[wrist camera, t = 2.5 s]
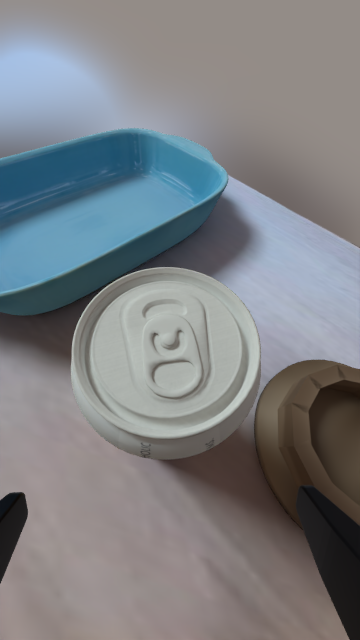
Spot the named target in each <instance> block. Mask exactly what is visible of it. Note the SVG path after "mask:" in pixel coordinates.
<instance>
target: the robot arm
mask: <svg viewBox="0 0 360 640" xmlns="http://www.w3.org/2000/svg"><path fill="white" fill-rule="evenodd" d="M296 510H297V513H298V516H299V519H300V521H301V524H302V527H303V530H304V532H305V535H306V538H307V540H308V543H309V546H310V549H311V551H312V554H313V557H314V560H315V562H316V565H317V567H318V570H319V573H320V575H321V577H322V580H323V582H324V584H325V586H326V589H327V591H328V593H329V595H330V597H331V600H332V602H333V604H334V606H335V609H336V611H337V613H338V615H339V617H340V620H341V622H342V624H343V626H344V628H345V631H346V633H347V635H348V637H349V639H350V640H360V525H359V524H357V523H356V522H355V521H354V520H353V519H352V518H350V517H349V516H348V515H347V514H346V513H345V512H343V511H342V510H341V509H340V508H339V507H337V506H336V505H335V504H334V503H333V502H332V501H330V500H329V499H328V498H327V497H326V496H325V495H323V494H322V493H321V492H320V491H319V490H318V489H316V488H315V487H314V486H312V485H300V486H299V489H298V494H297V499H296ZM27 515H28V509H27V503H26V498H25V494H24V493H23V492H13V493H9V494H8V495H6V496H5V497H4V498H3V499H1V500H0V583H1V581H2V578H3V576H4V574H5V571H6V569H7V566H8V564H9V561H10V559H11V557H12V554H13V552H14V549H15V547H16V544H17V542H18V539H19V537H20V534H21V532H22V530H23V527H24V525H25V522H26V519H27Z"/></svg>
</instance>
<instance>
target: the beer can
mask: <svg viewBox="0 0 360 640" xmlns="http://www.w3.org/2000/svg"><path fill="white" fill-rule="evenodd" d="M260 359H261V346H260V338H259V334H258V330H257V327H256V325H255V322H254V320H253V318H252V316H251V314H250V312H249V310H248V309H247V307H246V306H245V304H244V303H243V302H242V301H241V300H240V298H239V297H238V296H237V295H236V294H235V293H234V292H233V291H231V290H230V289H229V288H228V287H226V286H225V285H224V284H222V283H220V282H219V281H217V280H215V279H213V278H212V277H210V276H207V275H205V274H202V273H199V272H196V271H193V270H188V269H183V268H176V267H158V268H150V269H145V270H140V271H137V272H134V273H131V274H128V275H126V276H124V277H122V278H120V279H118V280H116V281H114V282H113V283H111V284H110V285H108V286H107V287H105V288H104V289H103V290H102V291H100V292H99V293H98V294H97V295H96V296H95V297H94V298H93V300H92V301H91V302H90V303H89V304H88V306H87V307H86V309H85V310H84V312H83V313H82V315H81V317H80V319H79V321H78V324H77V326H76V329H75V332H74V337H73V341H72V361H71V381H72V387H73V392H74V395H75V398H76V401H77V404H78V406H79V408H80V410H81V412H82V414H83V415H84V417H85V418H86V420H87V421H88V423H89V424H90V425H91V426H92V427H93V429H94V430H95V431H96V432H97V433H98V434H99V435H100V436H102V437H103V438H104V439H105V440H106V441H108V442H109V443H111V444H112V445H114V446H116V447H117V448H119V449H121V450H123V451H126V452H128V453H130V454H133V455H137V456H140V457H144V458H150V459H160V460H172V459H180V458H186V457H190V456H193V455H197V454H200V453H202V452H204V451H207V450H209V449H211V448H213V447H214V446H216V445H218V444H220V443H221V442H222V441H224V440H225V439H226V438H228V437H229V436H230V435H231V434H232V433H233V432H234V431H235V430H236V429H237V428H238V427H239V426H240V425H241V423H242V422H243V421H244V419H245V418H246V417H247V415H248V413H249V412H250V410H251V408H252V406H253V404H254V401H255V399H256V396H257V393H258V389H259V385H260V377H261V361H260Z"/></svg>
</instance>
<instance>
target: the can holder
mask: <svg viewBox="0 0 360 640" xmlns="http://www.w3.org/2000/svg"><path fill="white" fill-rule="evenodd" d="M254 435H255V443H256V449H257V453H258V457H259V461H260V464H261V467H262V469H263V472H264V475H265V477H266V479H267V481H268V483H269V485H270V487H271V489H272V491H273V493H274V494H275V496H276V497H277V499H278V501H279V502H280V504H281V505H282V506H283V508H284V509H285V510H286V512H287V513H288V514H289V516H290V517H291V518H292V519H293V520H294V521H295V522H296V523H297V524H298V525H299V526H300V527H301V528H302V529H303V527H302V524H301V521H300V519H299V516H298V513H297V510H296V499H297V494H298V489H299V486H300V485H312V486H314V487H315V488H316V489H318V490H319V491H320V492H321V493H322V494H323V495H325V496H326V497H327V498H328V499H329V500H330V501H332V502H333V503H334V504H335V505H336V506H337V507H339V508H340V509H341V510H342V511H343V512H345V513H346V514H347V515H348V516H349V517H350V518H352V519H353V520H354V521H355V522H356V523H357V524H359V525H360V369H356V368H352V367H350V366H347V365H344V364H341V363H337V362H333V361H327V360H306V361H302V362H298V363H295V364H293V365H290V366H288V367H287V368H285V369H283V370H282V371H281V372H279V373H278V374H277V375H276V376H274V377H273V378H272V379H271V380H270V381H269V383H268V384H267V385H266V386H265V388H264V390H263V392H262V393H261V395H260V398H259V401H258V403H257V408H256V412H255V421H254Z"/></svg>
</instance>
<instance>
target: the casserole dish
mask: <svg viewBox="0 0 360 640" xmlns="http://www.w3.org/2000/svg"><path fill="white" fill-rule="evenodd" d="M227 183H228V174H227V173H226V171H225V169H224V168H222V166H220V165H219V164H218V163H217V162H216V161H214V159H213V156H212V154H211V152H210V151H209V150H207V149H206V148H204V147H203V146H201V145H199V144H197V143H194V142H192V141H190V140H188V139H185V138H182V137H178V136H173V135H166V134H162V133H159V132H156V131H152V130H147V129H139V128H128V129H118V130H113V131H107V132H102V133H98V134H93V135H89V136H85V137H81V138H77V139H73V140H69V141H66V142H62V143H58V144H54V145H50V146H46V147H43V148H39V149H35V150H31V151H28V152H24V153H21V154H16V155H12V156H8V157H5V158H1V159H0V312H3V313H7V314H13V315H35V314H40V313H45V312H48V311H52V310H55V309H57V308H60V307H63V306H65V305H68V304H70V303H72V302H74V301H76V300H78V299H80V298H82V297H84V296H86V295H88V294H90V293H91V292H93V291H95V290H97V289H99V288H100V287H102V286H104V285H106V284H107V283H109V282H111V281H113V280H114V279H116V278H118V277H120V276H121V275H123V274H125V273H127V272H128V271H130V270H132V269H134V268H135V267H137V266H139V265H141V264H142V263H144V262H146V261H148V260H149V259H151V258H153V257H155V256H157V255H158V254H160V253H162V252H164V251H165V250H167V249H169V248H171V247H172V246H174V245H176V244H177V243H179V242H180V241H182V240H184V239H185V238H187V237H188V236H189V235H191V234H192V233H193V232H195V231H196V230H197V229H198V228H199V227H200V226H201V225H202V224H203V223H204V222H205V221H206V219H207V218H208V216H209V215H210V213H211V212H212V210H213V208H214V207H215V205H216V203H217V201H218V199H219V197H220V196H221V194H222V192H223V191H224V189H225V187H226V186H227Z"/></svg>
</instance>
